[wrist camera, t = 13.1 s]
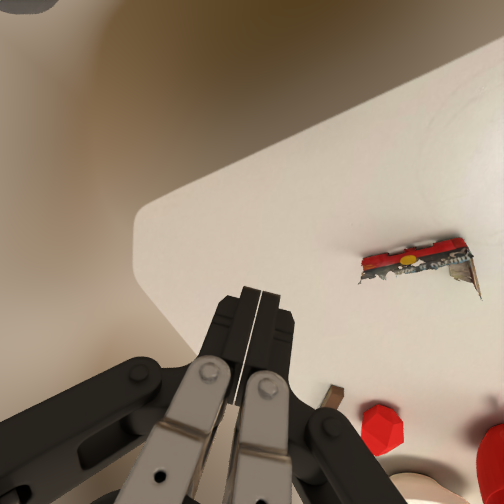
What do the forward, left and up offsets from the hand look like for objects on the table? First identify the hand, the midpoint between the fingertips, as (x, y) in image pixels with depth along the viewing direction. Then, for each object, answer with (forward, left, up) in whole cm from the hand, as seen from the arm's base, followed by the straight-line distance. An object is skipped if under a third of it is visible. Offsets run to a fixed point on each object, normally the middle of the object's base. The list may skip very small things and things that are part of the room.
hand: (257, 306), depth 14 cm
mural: (+17, -13, -27) cm, 34 cm away
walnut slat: (+15, -43, -27) cm, 53 cm away
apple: (+23, -42, -27) cm, 55 cm away
